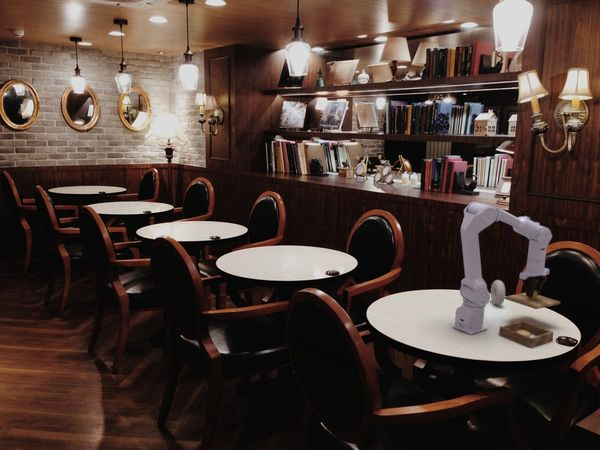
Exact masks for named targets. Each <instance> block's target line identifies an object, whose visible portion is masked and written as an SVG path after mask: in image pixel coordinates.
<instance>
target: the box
mask: <svg viewBox="0 0 600 450" xmlns="http://www.w3.org/2000/svg"><path fill="white" fill-rule="evenodd" d="M517 330H526V331H528V332H530V335H533V337H531V336H529V337H527V336H525V335H522V334H520V333H517ZM498 336H500V337H502V338H505V339H507V340H510V341H512V342H514V343H517V344H520V345H522V346H525V347H527V348H530V349H532V348H534V347H538V346H541V345H544V344H547V343H550V342H552V341H553V340H554V339H553V337H554V332H553V331H551V330H548V329H545V328H543V327H541V326H537V325H534V324H531V323H530V322H525V321H523V320H519V321H515V322H512V323H509V324H505V325H502V326H500V327H499V331H498Z"/></svg>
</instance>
